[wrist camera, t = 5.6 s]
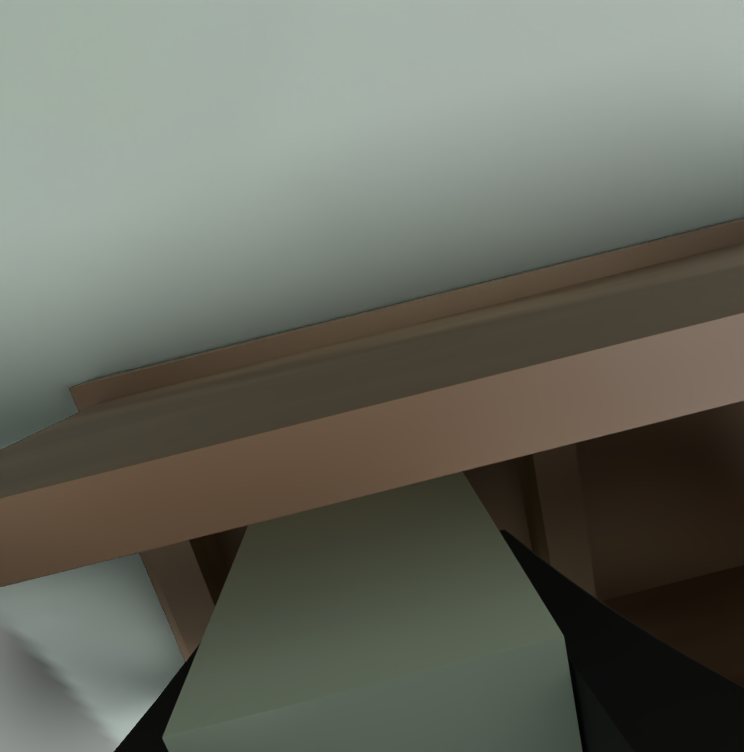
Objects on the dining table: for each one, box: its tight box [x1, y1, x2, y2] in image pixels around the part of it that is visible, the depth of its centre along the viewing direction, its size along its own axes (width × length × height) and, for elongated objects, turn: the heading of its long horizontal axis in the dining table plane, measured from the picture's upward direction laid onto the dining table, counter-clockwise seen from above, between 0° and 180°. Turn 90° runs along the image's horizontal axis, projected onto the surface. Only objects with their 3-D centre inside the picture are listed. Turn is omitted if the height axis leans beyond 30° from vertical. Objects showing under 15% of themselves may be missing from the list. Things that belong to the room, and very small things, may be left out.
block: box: [162, 471, 582, 752], centre depth 7 cm, size 4×4×5 cm
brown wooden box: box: [0, 218, 744, 688], centre depth 9 cm, size 11×24×6 cm, turn 104°
